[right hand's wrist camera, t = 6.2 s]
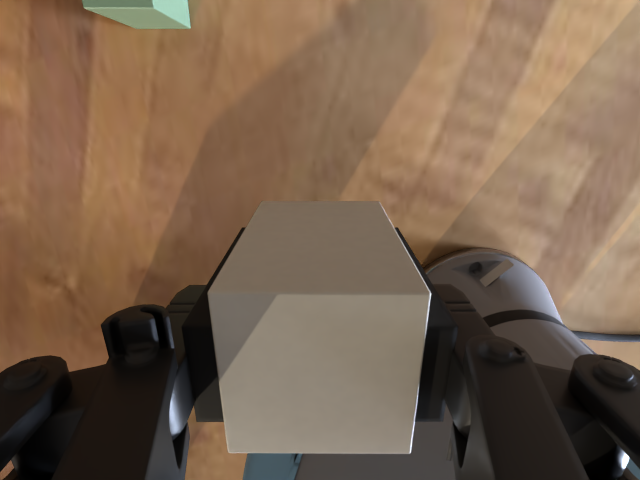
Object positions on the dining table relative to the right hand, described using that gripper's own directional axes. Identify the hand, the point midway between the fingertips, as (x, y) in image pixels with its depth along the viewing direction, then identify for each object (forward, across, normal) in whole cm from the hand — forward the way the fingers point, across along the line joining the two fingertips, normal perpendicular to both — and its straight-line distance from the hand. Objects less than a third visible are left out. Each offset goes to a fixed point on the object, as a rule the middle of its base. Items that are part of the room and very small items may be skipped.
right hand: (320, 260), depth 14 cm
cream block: (0, 0, 0) cm, 0 cm away
